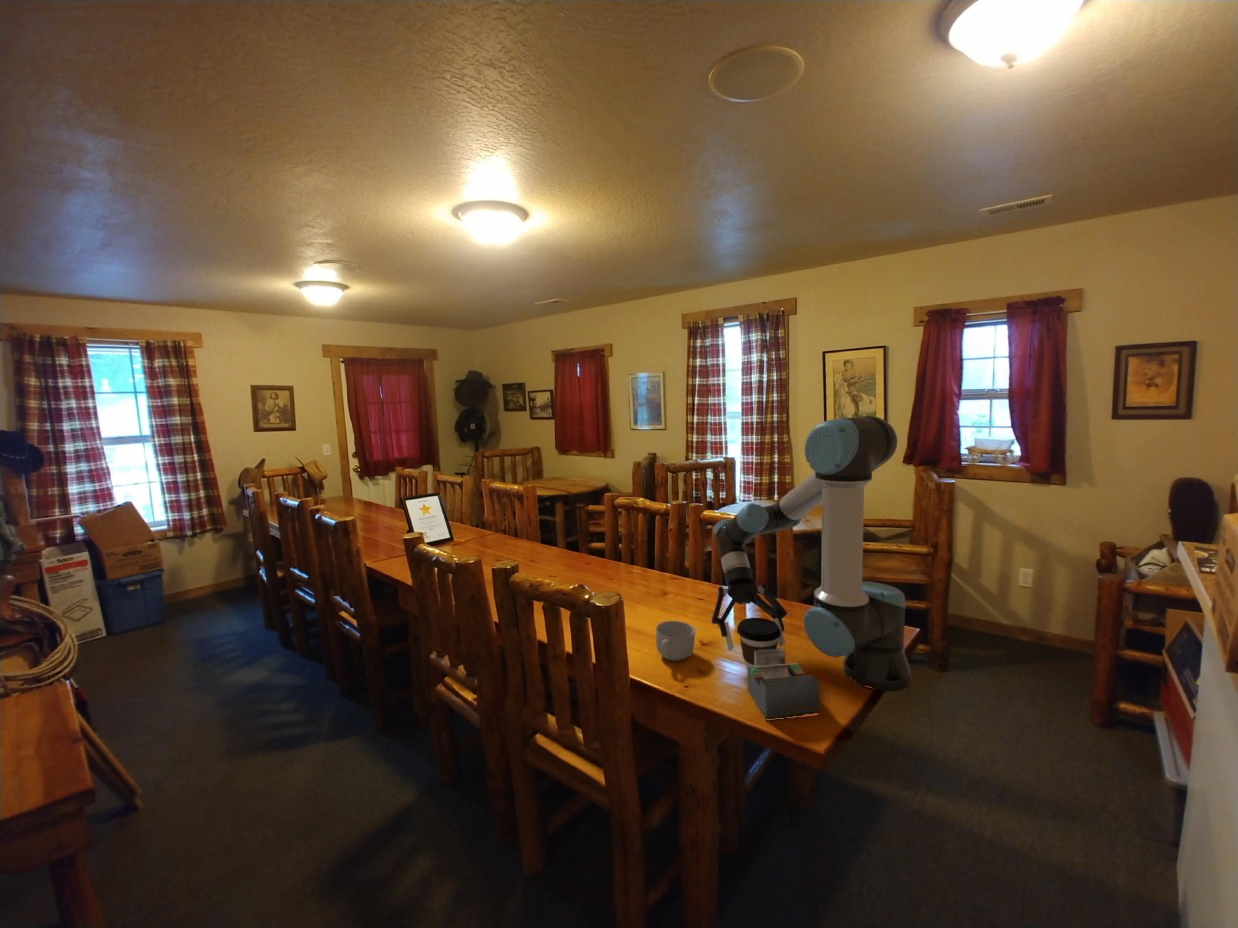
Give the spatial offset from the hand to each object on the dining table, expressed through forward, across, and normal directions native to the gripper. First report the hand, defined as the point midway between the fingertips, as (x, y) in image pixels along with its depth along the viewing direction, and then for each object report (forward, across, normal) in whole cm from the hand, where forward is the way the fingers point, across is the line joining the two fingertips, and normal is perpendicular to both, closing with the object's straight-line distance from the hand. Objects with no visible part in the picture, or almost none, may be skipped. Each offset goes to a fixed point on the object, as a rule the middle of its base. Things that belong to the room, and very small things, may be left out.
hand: (756, 646), depth 132 cm
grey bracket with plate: (+11, 0, +4) cm, 12 cm away
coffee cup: (+5, 0, -4) cm, 6 cm away
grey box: (+15, 0, +7) cm, 17 cm away
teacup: (-2, +20, -11) cm, 23 cm away
